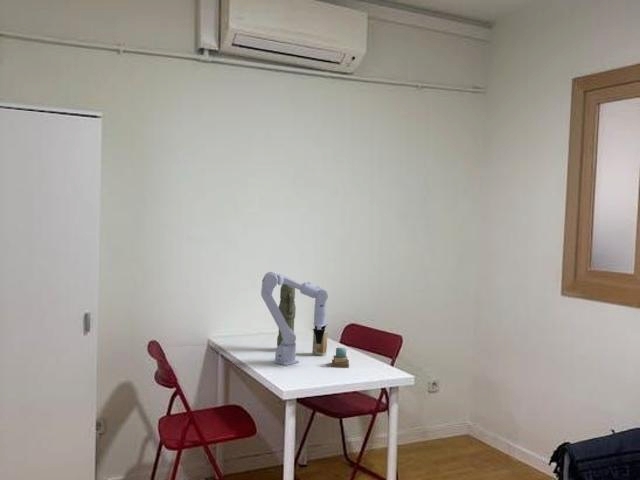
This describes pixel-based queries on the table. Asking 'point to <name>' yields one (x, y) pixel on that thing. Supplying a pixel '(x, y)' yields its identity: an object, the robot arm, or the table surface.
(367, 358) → the table surface
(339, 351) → the teal cylinder
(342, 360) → the oak block
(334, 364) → the walnut slab
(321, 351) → the skincare box
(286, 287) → the thermos
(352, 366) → the table surface
